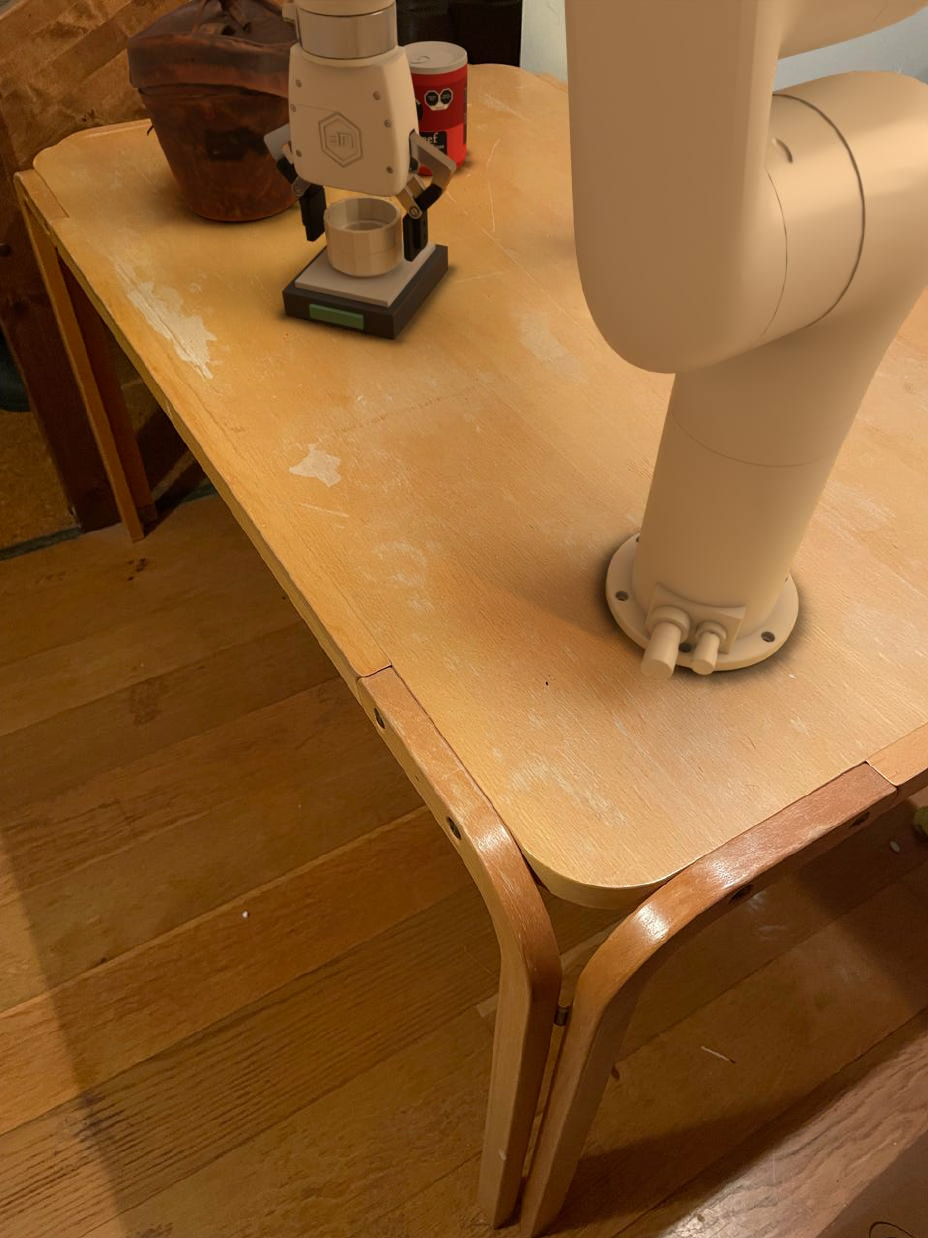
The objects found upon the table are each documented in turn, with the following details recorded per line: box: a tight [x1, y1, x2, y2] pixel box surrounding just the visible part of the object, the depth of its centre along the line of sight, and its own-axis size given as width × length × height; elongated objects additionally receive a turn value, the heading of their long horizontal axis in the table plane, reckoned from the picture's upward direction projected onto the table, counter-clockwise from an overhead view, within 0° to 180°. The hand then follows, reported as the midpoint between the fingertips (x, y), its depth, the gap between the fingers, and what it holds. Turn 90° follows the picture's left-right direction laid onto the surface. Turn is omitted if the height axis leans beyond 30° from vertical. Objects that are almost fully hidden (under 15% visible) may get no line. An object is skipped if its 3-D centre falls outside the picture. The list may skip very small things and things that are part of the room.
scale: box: [281, 236, 449, 340], centre depth 84 cm, size 14×11×3 cm
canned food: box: [402, 40, 468, 176], centre depth 98 cm, size 8×8×11 cm
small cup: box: [324, 195, 403, 277], centre depth 81 cm, size 7×7×4 cm
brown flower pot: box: [125, 0, 299, 222], centre depth 90 cm, size 18×20×18 cm
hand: (365, 244), depth 81 cm, fingers open, 9 cm apart
